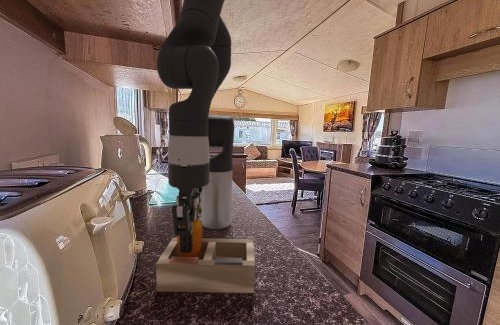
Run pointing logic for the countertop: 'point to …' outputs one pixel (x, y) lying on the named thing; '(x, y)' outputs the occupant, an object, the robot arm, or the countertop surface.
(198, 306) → the countertop surface
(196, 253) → the carrot
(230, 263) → the frame
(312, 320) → the countertop surface
